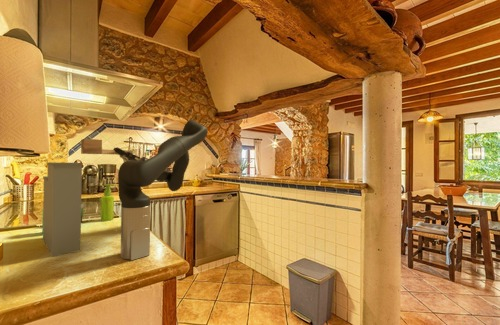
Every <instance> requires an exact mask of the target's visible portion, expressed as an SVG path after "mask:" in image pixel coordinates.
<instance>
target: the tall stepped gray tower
mask: <svg viewBox="0 0 500 325" xmlns="http://www.w3.org/2000/svg"><path fill="white" fill-rule="evenodd" d="M83 164H84V163H83V162H46V165H47V175H46V176H43V177H42V179H43V201H42V202H43V204H42V205H43V208H42V222H43V234H42V240H43V241H44V244H45V246H46V248H47V250H48V252H49V254H50V256H51V257H52V258H53V257H56V256H57V257H58V256H60V255H65V254H70V253H74V252H79V251H81V247H82V246H81V245H82V242H81V240H82V236H81V235H82V234H81V233H82V222H81V202H82V187H83V185H82V183H83V181H82V180H83V179H82V178H83V177H82V176H83V175H82V174H83V173H82V171H83Z"/></svg>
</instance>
